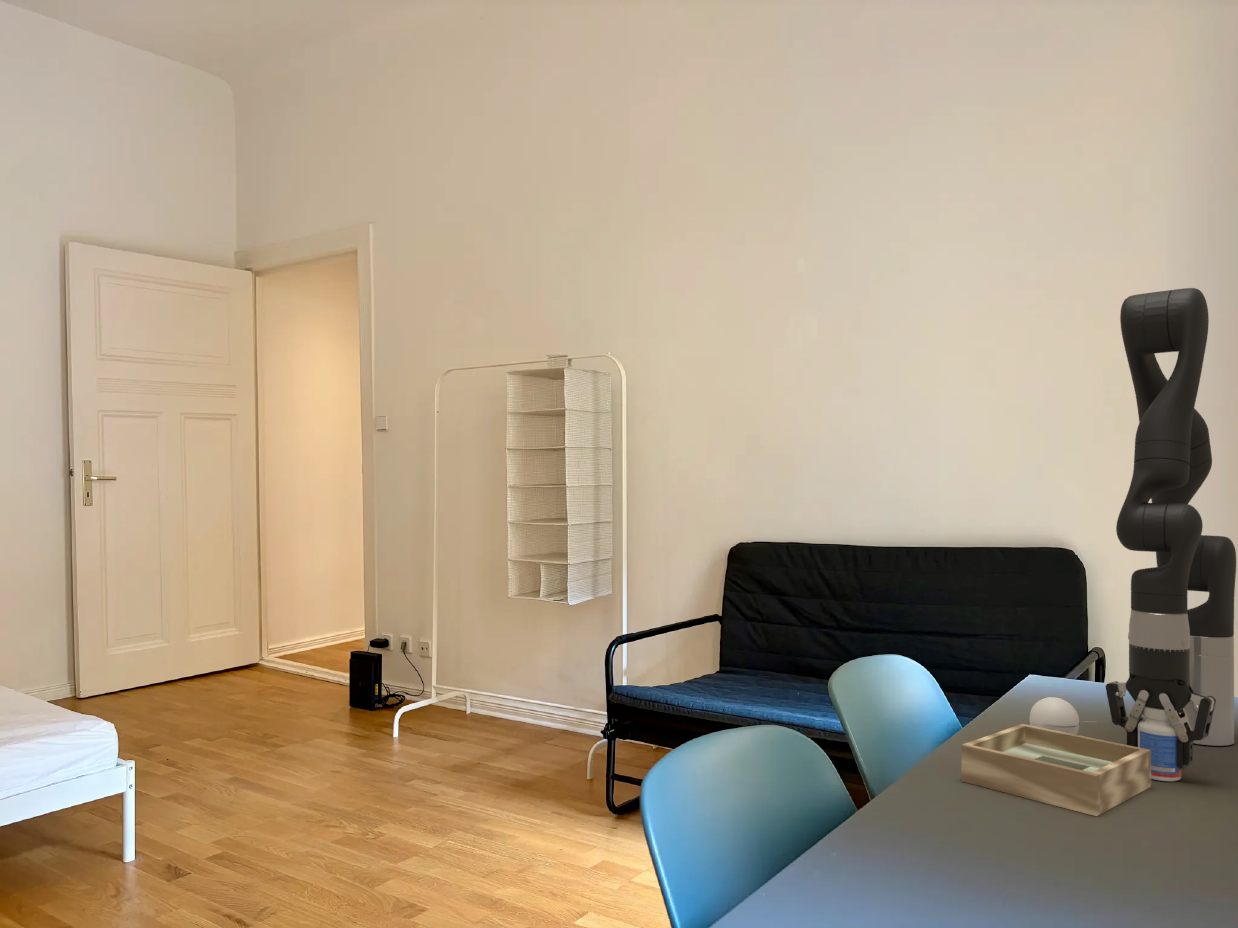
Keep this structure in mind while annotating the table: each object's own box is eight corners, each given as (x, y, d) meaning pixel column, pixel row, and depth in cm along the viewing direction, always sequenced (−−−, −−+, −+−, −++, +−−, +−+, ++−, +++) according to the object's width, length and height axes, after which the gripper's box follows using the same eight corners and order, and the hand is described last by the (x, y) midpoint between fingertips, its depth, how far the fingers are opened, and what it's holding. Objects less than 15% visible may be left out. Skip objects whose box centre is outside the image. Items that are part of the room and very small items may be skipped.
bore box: (1022, 756, 142) (1022, 723, 142) (1151, 786, 129) (1151, 749, 129) (961, 780, 130) (961, 744, 130) (1096, 816, 117) (1096, 775, 117)
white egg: (1029, 747, 148) (1029, 700, 148) (1028, 735, 155) (1028, 690, 155) (1101, 754, 144) (1101, 706, 144) (1096, 742, 151) (1096, 696, 151)
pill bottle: (1187, 783, 130) (1187, 712, 130) (1145, 780, 131) (1145, 710, 131) (1173, 771, 136) (1172, 703, 136) (1132, 769, 137) (1132, 701, 137)
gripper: (1225, 647, 131) (1225, 769, 131) (1116, 633, 142) (1116, 746, 141) (1207, 652, 126) (1207, 780, 126) (1095, 638, 137) (1095, 755, 136)
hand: (1159, 761), depth 133 cm, fingers closed on pill bottle, 5 cm apart
